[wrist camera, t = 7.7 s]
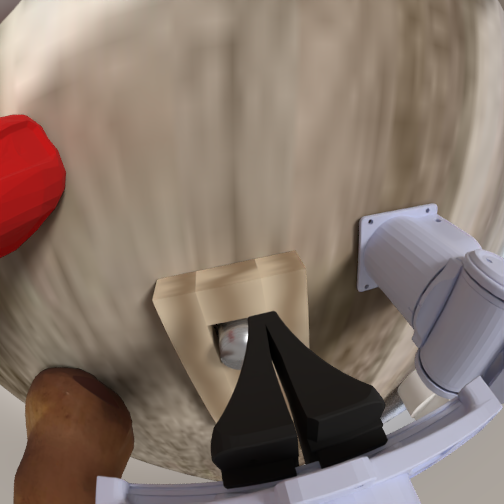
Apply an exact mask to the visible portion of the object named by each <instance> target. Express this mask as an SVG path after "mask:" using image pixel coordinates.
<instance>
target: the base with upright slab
mask: <svg viewBox="0 0 504 504" xmlns="http://www.w3.org/2000/svg"><path fill="white" fill-rule="evenodd" d="M397 391H398V394H399V396H400V398H401V399H402V401H403V403H404V405H405V407H406V408H407V410H408V412H409V413H410V415H411V417H412V418H415V420H418V419H420V418H421V417H423V416H425V415H427V414H429V413H430V412H432V411H434V410H435V409H437V408H439V407H440V406H442V405H444V404H445V403H447V402H448V401H450V399H446V398H443V397H441V396H438V395H437V394H435V393H433V392H432V391H431V390H429V389H428V388H427V387H426V386H425V384H424V383H423V382H422V380H421V379H420V377H419V375H418V373H417V371H416V370H415V371H413V372H412V373H411V374H410V375H409V376H408V377H406V378H405V379H404V381H403V382H402V383H401V384H400V386H399V387H398V390H397Z"/></svg>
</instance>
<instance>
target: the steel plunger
mask: <svg viewBox="0 0 504 504" xmlns="http://www.w3.org/2000/svg"><path fill="white" fill-rule="evenodd" d="M218 335H219V346H220V357H221V361H222V362H223V364H224V365H226V366H227V367H229V368H232V369H236V370H241V369H242V365H243V361H244V356H245V352H246V345H247V338H248V320H247V318H243V319H238V320H233V321H229V322H224V323H218Z"/></svg>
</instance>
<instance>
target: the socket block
mask: <svg viewBox="0 0 504 504" xmlns="http://www.w3.org/2000/svg"><path fill="white" fill-rule="evenodd" d="M152 301H153V303H154V306H155V308H156V310H157V312H158V315H159V317H160V319H161V321H162V323H163V326H164V328H165V330H166V332H167V334H168V336H169V338H170V340H171V342H172V344H173V346H174V348H175V350H176V352H177V354H178V356H179V358H180V360H181V362H182V364H183V366H184V368H185V370H186V372H187V374H188V375H189V377H190V379H191V381H192V383H193V385H194V386H195V388H196V390H197V392H198V394H199V395H200V397H201V399H202V401H203V402H204V404H205V406H206V407H207V409H208V411H209V412H210V414H211V416H212V417H213V419H214V421H215V422H216V423H217V422H218V420H219V419H220V417H221V415H222V414H223V412H224V410H225V408H226V406H227V404H228V402H229V400H230V398H231V396H232V394H233V392H234V389H235V386H236V384H237V381H238V378H239V375H240V372H241V370H236V369H232V368H229V367H227V366H226V365H224V364H223V362H222V361H221V357H220V346H219V341H218V338H217V335H216V332H215V329H214V326H213V324H218V323H224V322H229V321H233V320H238V319H243V318H248V317H249V316H253V315H258V314H262V313H266V312H271V311H275V312H277V314H278V315H279V317H280V318H281V320H282V321H283V322H284V323H285V325H286V326H287V327H288V328H289V329H290V331H291V332H292V333H293V334H294V335H295V336H296V337H297V338H298V339H299V340H300V341H301V342H302V343H303V344H304V345H305V346H306V347H308V348H309V319H308V296H307V278H306V268H305V266H304V264H303V263H302V261H301V259H300V258H299V256H298V255H297V253H296V251H290V252H285V253H281V254H276V255H271V256H267V257H262V258H257V259H252V260H248V261H243V262H238V263H234V264H229V265H224V266H219V267H214V268H210V269H205V270H200V271H195V272H190V273H186V274H181V275H176V276H171V277H166V278H161V279H157V282H156V286H155V291H154V295H153V299H152ZM272 363H273V362H272ZM273 366H274V365H273ZM274 369H275V367H274ZM275 372H276V370H275ZM276 375H277V372H276ZM277 378H278V381H279V385H280V388H281V390H282V393H283V396H284V399H285V402H286V405H287V407H288V410H289V413H290V415H291V418H292V420H293V417H292V414H291V410H290V407H289V403H288V400H287V397H286V394H285V392H284V389H283V387H282V385H281V382H280V380H279V377H278V375H277Z"/></svg>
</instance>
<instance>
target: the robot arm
mask: <svg viewBox="0 0 504 504" xmlns="http://www.w3.org/2000/svg"><path fill="white" fill-rule="evenodd" d="M426 209H427V211H426ZM370 219H371V222H370V223H368V221H369V220H370ZM366 285H367V286H366ZM376 287H379V288H380V289H381V290H382V291H383V292H384V294H385V295H386V296H387V297H388V298H389V299H390V301H391V302H392V303H393V304H394V305H395V307H396V308H397V309H398V310H399V312H400V313H401V314H402V315H403V316H404V318H405V319H406V320H407V321H408V323H409V324H410V325H411V326H412V328H413V329H414V335H413V337H412V340H413V342H414V343H415V344H416V346H417V347H418V350H417V352H416V355H415V368H416V371H417V373H418V375H419V377H420V379H421V380H422V382H423V383H424V384H425V386H426V387H427V388H428V389H429V390H431V391H432V392H433V393H435V394H437V395H438V396H441V397H443V398H446V399H450V401H448V402H447V403H445V404H444V405H442V406H440V407H439V408H437V409H435V410H434V411H432V412H430V413H429V414H427V415H425V416H423V417H421V418H420V419H418V420H416V421H414V422H412V423H410V424H408V425H406V426H404V427H402V428H400V429H398V430H396V431H395V432H392V433H390V434H388V435H385V432H384V430H383V428H382V427H383V423H382V421H381V419H380V417H381V415H382V413H383V411H384V408H385V403H384V400H383V398H382V397H381V396H380V394H379V393H378V392H377V390H376V389H375V388H374V387H373V386H372V385H369V384H366V383H364V382H362V381H359V380H357V379H355V378H353V377H351V376H349V375H347V374H345V373H343V372H341V371H340V370H338V369H336V368H335V367H333V366H331V365H330V364H328V363H327V362H325V361H324V360H323V359H321V358H320V357H319V356H317V355H316V354H315V353H313V352H312V351H311V350H310V349H309V348H308V347H306V346H305V345H304V344H303V343H302V342H301V341H300V340H299V339H298V338H297V337H296V336H295V335H294V334H293V333H292V332H291V331H290V329H289V328H288V327H287V326H286V325H285V323H284V322H283V321H282V320H281V318H280V317H279V315H278V314H277V312H275V311H271V312H266V313H262V314H258V315H253V316H249V317H248V318H247V320H248V338H247V345H246V352H245V356H244V361H243V365H242V369H241V372H240V375H239V378H238V381H237V384H236V386H235V389H234V392H233V394H232V396H231V398H230V400H229V402H228V404H227V406H226V408H225V410H224V412H223V414H222V415H221V417H220V419H219V420H218V422H217V423H216V425H215V427H214V429H213V434H212V439H211V456H212V461H213V463H214V464H215V465H216V466H217V467H218V468H219V469H220V470H221V472H222V479H223V481H217V482H207V483H192V484H134V483H133V484H132V483H128V482H127V481H125V480H123V479H120V478H116V477H106V476H97V482H96V499H95V504H421V502H420V500H419V498H418V496H417V494H416V491H415V489H414V487H413V485H412V483H411V481H410V478H412V477H414V476H416V475H418V474H419V473H421V472H423V471H424V470H426V469H428V468H429V467H431V466H432V465H434V464H435V463H437V462H438V461H440V460H442V459H443V458H445V457H446V456H447V455H449V454H450V453H452V452H453V451H454V450H456V449H457V448H459V447H460V446H461V445H463V444H464V443H465V442H467V441H468V440H469V439H471V438H472V437H473V436H475V435H476V434H477V433H478V432H480V431H481V430H482V429H483V428H484V427H485V426H486V425H487V424H488V423H489V422H490V421H491V420H492V419H493V418H494V417H495V416H496V415H497V414H498V412H499V411H500V410H501V409H502V405H501V404H503V403H504V258H503V257H501V256H499V255H497V254H495V253H492V252H490V251H487V250H483V249H482V248H481V246H480V245H479V243H478V242H477V241H476V239H475V238H473V237H472V236H471V235H469V234H468V233H466V232H465V231H463V230H462V229H460V228H459V227H457V226H455V225H454V224H452V223H451V222H449V221H447V220H446V219H444V218H443V217H441V216H439V215H438V214H437V205H436V204H427V205H422V206H416V207H411V208H406V209H400V210H395V211H390V212H384V213H379V214H374V215H369V216H364V217H362V218H361V219H360V221H359V253H358V274H357V290H358V291H359V292H363V291H366V290H369V289H373V288H376ZM272 362H273V363H272ZM273 365H274V366H273ZM274 367H275V369H274ZM275 370H276V372H277V375H278V377H279V380H280V382H281V385H282V387H283V389H284V392H285V394H286V397H287V400H288V403H289V407H290V410H291V414H292V417H293V421H294V423H293V421H292V418H291V415H290V413H289V410H288V407H287V405H286V402H285V399H284V396H283V393H282V390H281V388H280V385H279V381H278V378H277V375H276V372H275ZM294 424H295V426H294ZM295 428H296V430H295ZM296 431H297V433H296ZM297 435H298V437H297ZM298 438H299V442H300V445H301V449H302V453H303V456H304V460H305V464H306V465H302V466H299V461H298V456H299V452H298Z"/></svg>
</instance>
